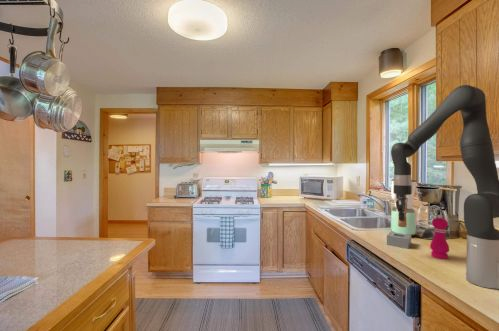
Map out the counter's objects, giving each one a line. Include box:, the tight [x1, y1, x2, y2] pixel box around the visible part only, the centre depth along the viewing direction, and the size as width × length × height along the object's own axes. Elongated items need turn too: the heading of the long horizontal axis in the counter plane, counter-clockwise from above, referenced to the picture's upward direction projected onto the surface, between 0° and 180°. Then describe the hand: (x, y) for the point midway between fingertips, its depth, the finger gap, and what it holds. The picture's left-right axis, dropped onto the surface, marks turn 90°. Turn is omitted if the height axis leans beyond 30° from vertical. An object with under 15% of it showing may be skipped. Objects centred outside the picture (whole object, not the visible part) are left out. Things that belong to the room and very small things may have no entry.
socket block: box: [386, 231, 412, 250], centre depth 136 cm, size 10×10×5 cm
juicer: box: [390, 179, 417, 237], centre depth 154 cm, size 19×13×35 cm
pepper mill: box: [429, 214, 450, 260], centre depth 118 cm, size 7×7×20 cm
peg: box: [398, 208, 406, 227], centre depth 120 cm, size 3×3×10 cm
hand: (402, 219), depth 120 cm, fingers closed on peg, 3 cm apart
